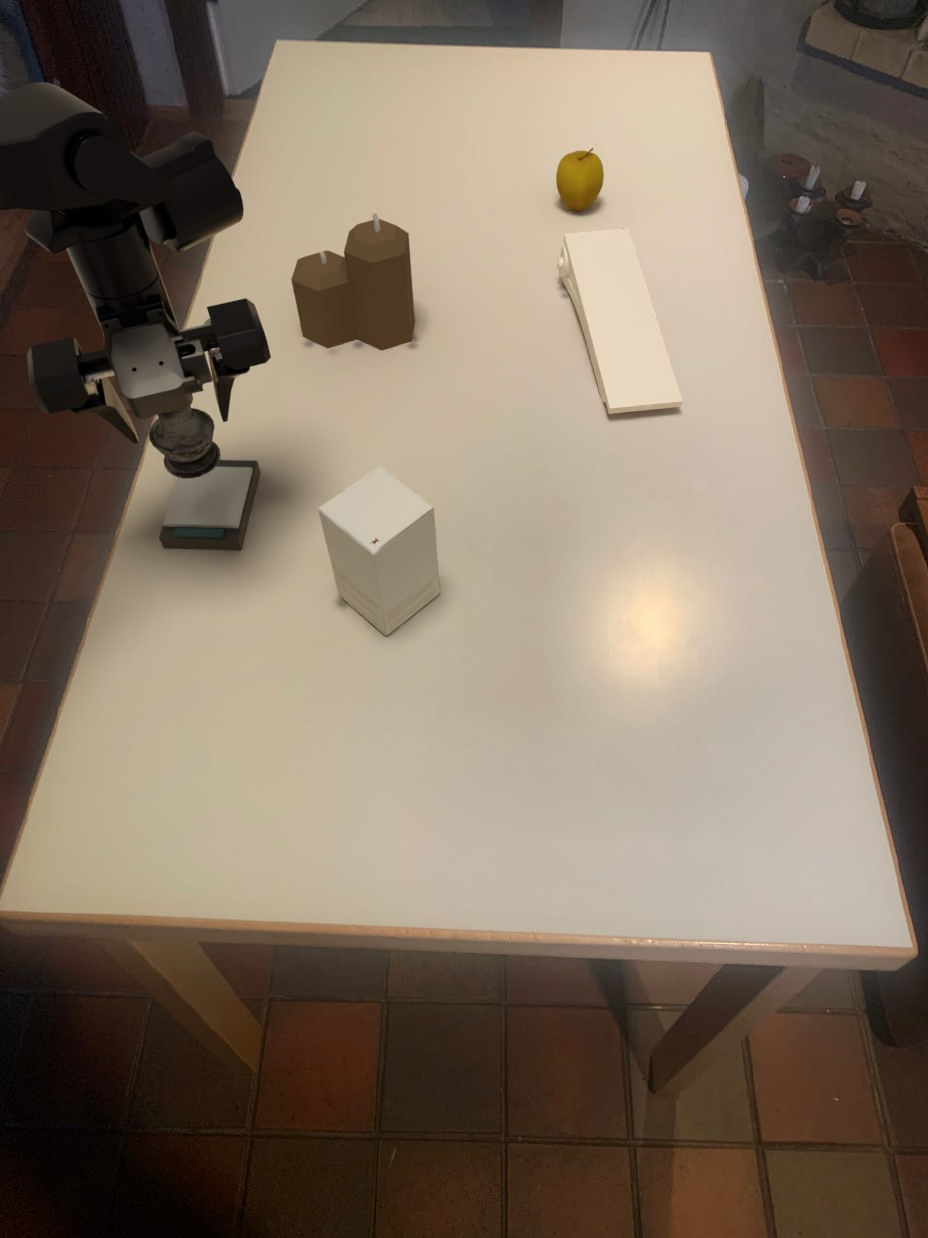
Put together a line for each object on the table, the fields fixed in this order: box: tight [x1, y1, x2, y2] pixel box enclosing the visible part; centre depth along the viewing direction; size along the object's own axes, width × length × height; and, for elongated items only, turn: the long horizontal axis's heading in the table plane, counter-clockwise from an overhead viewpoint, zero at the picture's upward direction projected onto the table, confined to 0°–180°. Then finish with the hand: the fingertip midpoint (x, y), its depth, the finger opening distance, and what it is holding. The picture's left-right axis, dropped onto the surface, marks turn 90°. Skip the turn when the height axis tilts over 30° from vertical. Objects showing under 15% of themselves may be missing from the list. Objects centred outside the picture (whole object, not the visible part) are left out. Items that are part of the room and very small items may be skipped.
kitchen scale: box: [158, 459, 261, 551], centre depth 87 cm, size 11×8×2 cm
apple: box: [555, 147, 604, 211], centre depth 115 cm, size 6×6×8 cm
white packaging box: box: [317, 465, 441, 637], centre depth 76 cm, size 7×7×13 cm
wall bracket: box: [556, 227, 683, 415], centre depth 102 cm, size 10×7×28 cm
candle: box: [290, 212, 416, 351], centre depth 99 cm, size 14×14×15 cm
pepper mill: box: [148, 405, 222, 479], centre depth 74 cm, size 6×6×12 cm
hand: (180, 429), depth 76 cm, fingers closed on pepper mill, 8 cm apart
